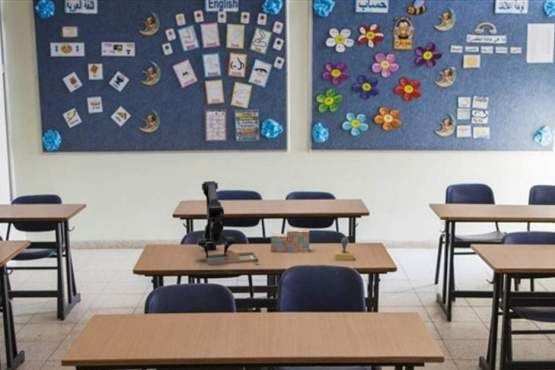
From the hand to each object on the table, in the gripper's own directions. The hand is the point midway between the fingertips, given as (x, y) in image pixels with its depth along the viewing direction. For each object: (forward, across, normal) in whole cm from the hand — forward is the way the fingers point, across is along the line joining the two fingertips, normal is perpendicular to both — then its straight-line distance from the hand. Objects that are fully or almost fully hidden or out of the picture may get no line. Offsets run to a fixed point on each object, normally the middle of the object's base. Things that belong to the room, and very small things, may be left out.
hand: (216, 256), depth 332 cm
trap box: (+3, +8, -2) cm, 9 cm away
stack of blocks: (+3, +43, +13) cm, 45 cm away
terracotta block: (+2, +9, 0) cm, 9 cm away
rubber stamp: (+3, +68, -9) cm, 69 cm away
